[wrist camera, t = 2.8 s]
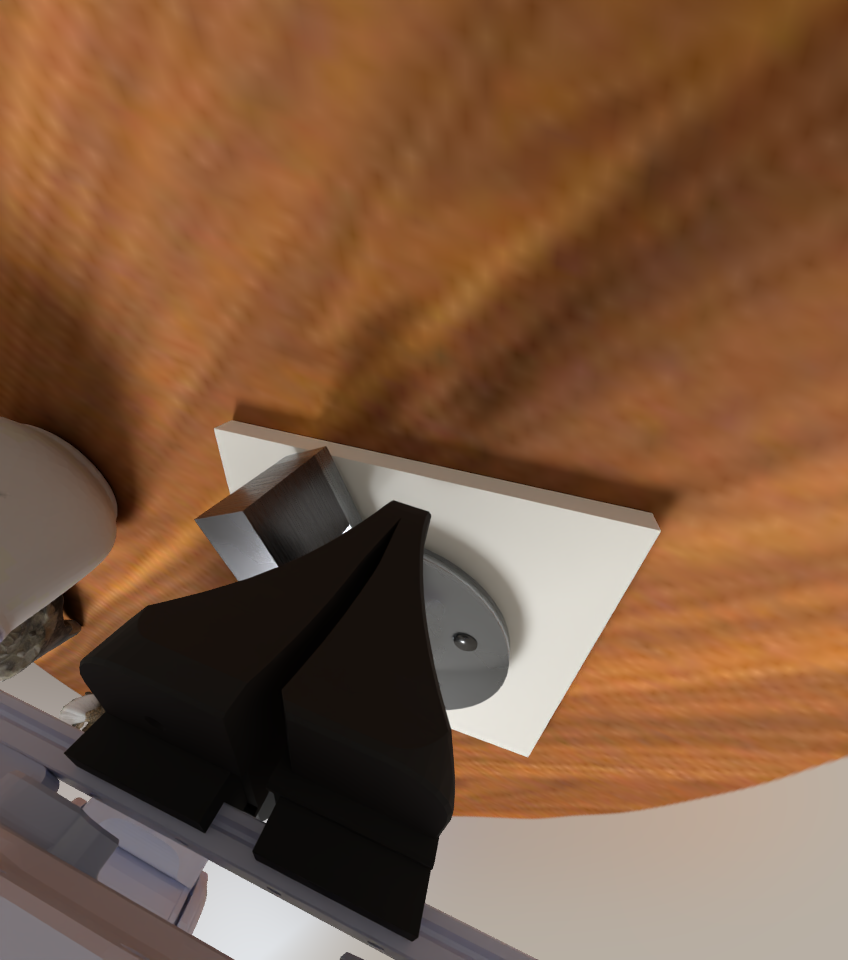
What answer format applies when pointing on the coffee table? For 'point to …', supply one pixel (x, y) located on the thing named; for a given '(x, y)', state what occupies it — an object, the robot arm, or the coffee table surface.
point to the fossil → (35, 638)
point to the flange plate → (449, 617)
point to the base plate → (493, 562)
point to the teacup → (47, 520)
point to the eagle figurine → (82, 711)
